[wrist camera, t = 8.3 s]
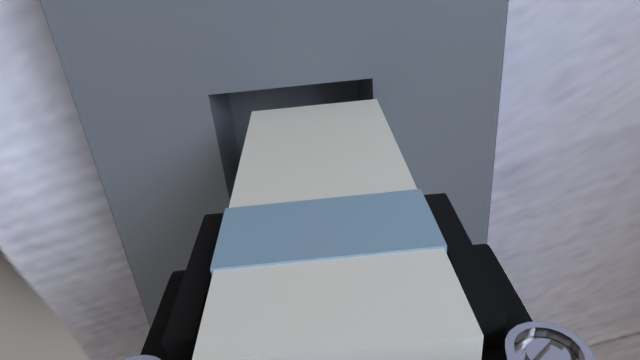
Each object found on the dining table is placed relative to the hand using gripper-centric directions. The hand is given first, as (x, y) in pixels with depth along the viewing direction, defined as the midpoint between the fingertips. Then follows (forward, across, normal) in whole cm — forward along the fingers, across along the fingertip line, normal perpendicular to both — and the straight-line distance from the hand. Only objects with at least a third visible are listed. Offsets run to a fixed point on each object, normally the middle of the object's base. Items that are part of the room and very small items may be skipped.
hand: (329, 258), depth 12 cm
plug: (+5, 0, 0) cm, 5 cm away
